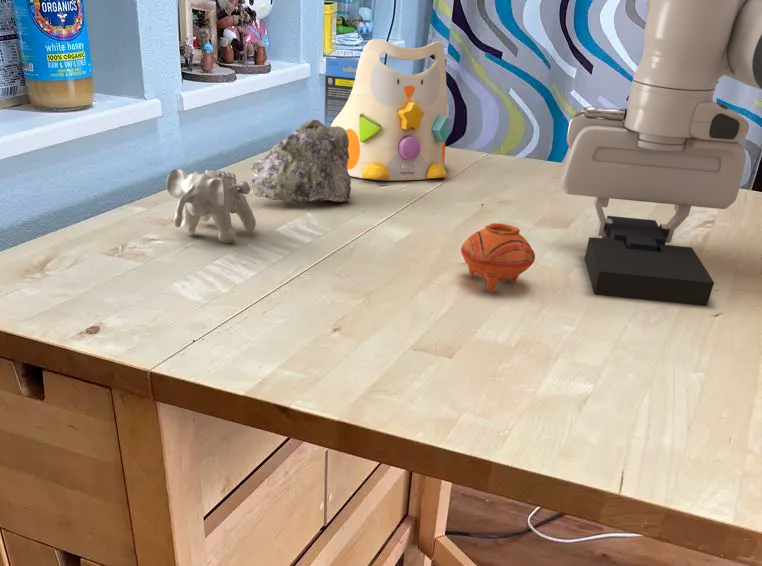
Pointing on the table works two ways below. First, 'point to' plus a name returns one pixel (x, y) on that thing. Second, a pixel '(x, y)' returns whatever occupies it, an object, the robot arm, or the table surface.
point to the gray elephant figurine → (210, 201)
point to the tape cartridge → (337, 87)
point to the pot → (497, 254)
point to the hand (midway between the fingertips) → (633, 238)
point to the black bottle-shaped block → (636, 233)
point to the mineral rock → (305, 166)
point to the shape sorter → (397, 116)
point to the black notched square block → (647, 272)
